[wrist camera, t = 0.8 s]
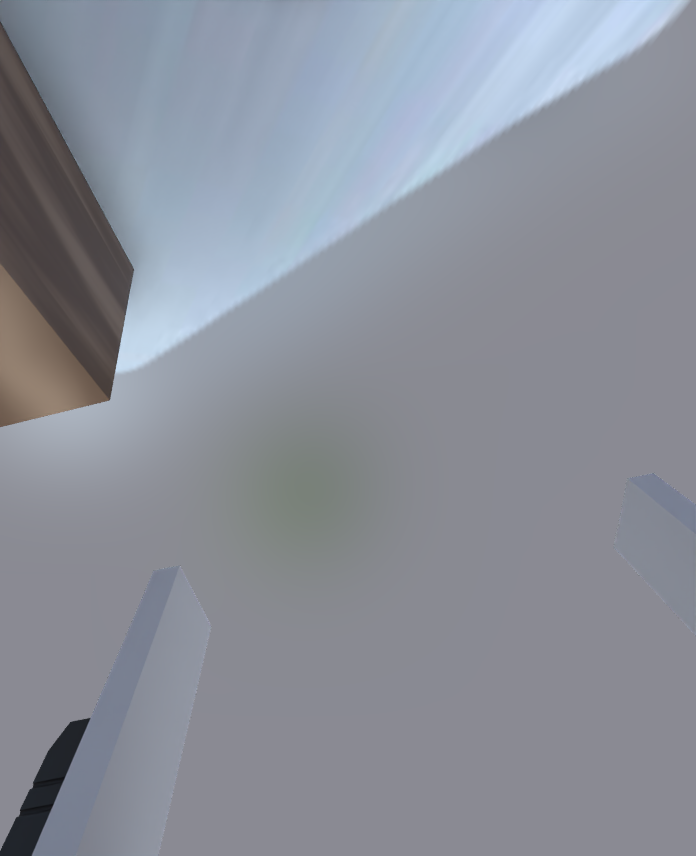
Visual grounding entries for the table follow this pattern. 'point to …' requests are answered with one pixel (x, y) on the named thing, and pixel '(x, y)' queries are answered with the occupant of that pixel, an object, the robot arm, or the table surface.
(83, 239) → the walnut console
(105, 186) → the table surface
